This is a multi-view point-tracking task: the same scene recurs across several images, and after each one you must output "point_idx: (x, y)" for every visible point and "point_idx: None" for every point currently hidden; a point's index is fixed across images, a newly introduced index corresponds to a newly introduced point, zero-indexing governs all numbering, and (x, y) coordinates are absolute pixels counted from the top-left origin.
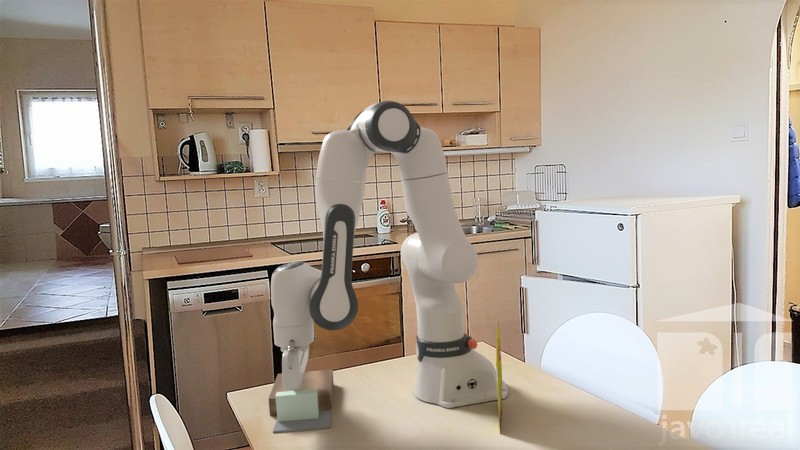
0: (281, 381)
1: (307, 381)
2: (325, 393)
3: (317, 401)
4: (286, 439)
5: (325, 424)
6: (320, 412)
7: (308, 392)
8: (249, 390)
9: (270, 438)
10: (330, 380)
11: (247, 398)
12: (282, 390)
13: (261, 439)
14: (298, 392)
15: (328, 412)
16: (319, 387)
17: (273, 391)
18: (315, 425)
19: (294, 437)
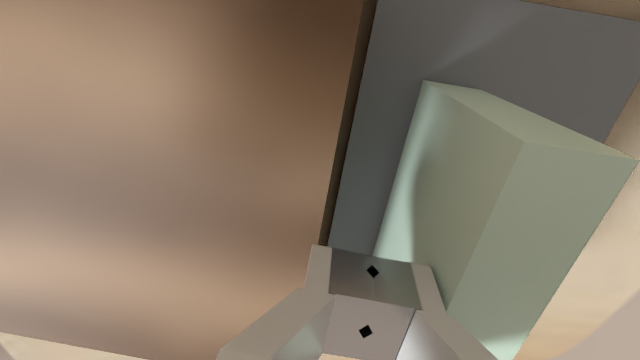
0: (16, 306)
1: (7, 147)
2: (341, 6)
3: (524, 116)
4: (612, 268)
5: (614, 52)
6: (397, 65)
7: (554, 243)
8: (14, 345)
9: (549, 321)
10: None
11: (98, 356)
12: (174, 316)
13: (534, 347)
14: (490, 324)
15: (424, 4)
16: (162, 54)
17: (182, 357)
18: (584, 121)
19: (619, 235)
